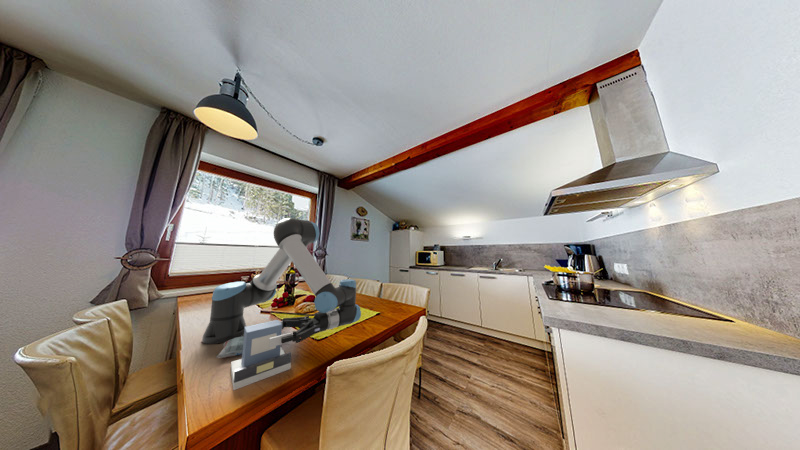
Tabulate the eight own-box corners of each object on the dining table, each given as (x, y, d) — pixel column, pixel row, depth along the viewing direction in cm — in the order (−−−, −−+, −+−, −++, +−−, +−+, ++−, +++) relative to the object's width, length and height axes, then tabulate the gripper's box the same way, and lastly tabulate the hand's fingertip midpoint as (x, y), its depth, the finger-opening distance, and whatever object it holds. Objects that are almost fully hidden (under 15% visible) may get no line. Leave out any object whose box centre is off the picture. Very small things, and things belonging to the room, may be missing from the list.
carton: (241, 364, 66) (244, 326, 68) (275, 353, 73) (278, 319, 74) (243, 372, 62) (247, 332, 63) (279, 360, 69) (282, 324, 70)
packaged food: (215, 364, 70) (217, 349, 70) (223, 348, 80) (224, 336, 80) (246, 357, 74) (247, 343, 75) (249, 343, 84) (251, 331, 85)
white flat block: (230, 368, 67) (232, 352, 68) (280, 352, 77) (281, 338, 78) (233, 391, 57) (235, 372, 57) (290, 369, 67) (291, 353, 67)
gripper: (338, 340, 73) (271, 363, 59) (314, 321, 91) (259, 334, 77) (339, 319, 74) (273, 336, 60) (315, 304, 92) (260, 314, 78)
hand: (265, 335), depth 68 cm, fingers open, 13 cm apart
